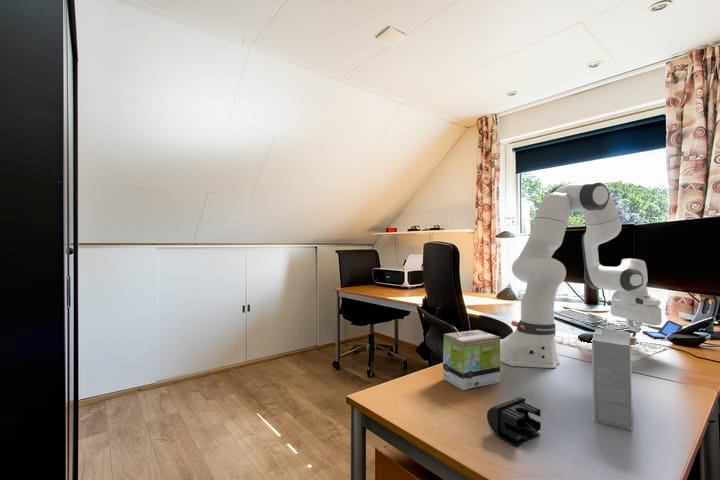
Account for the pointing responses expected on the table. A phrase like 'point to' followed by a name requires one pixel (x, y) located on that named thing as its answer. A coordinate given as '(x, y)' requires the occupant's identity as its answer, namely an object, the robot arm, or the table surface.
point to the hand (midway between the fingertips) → (634, 331)
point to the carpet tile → (573, 342)
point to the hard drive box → (612, 378)
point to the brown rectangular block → (632, 339)
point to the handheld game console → (664, 330)
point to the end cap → (514, 421)
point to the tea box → (471, 359)
